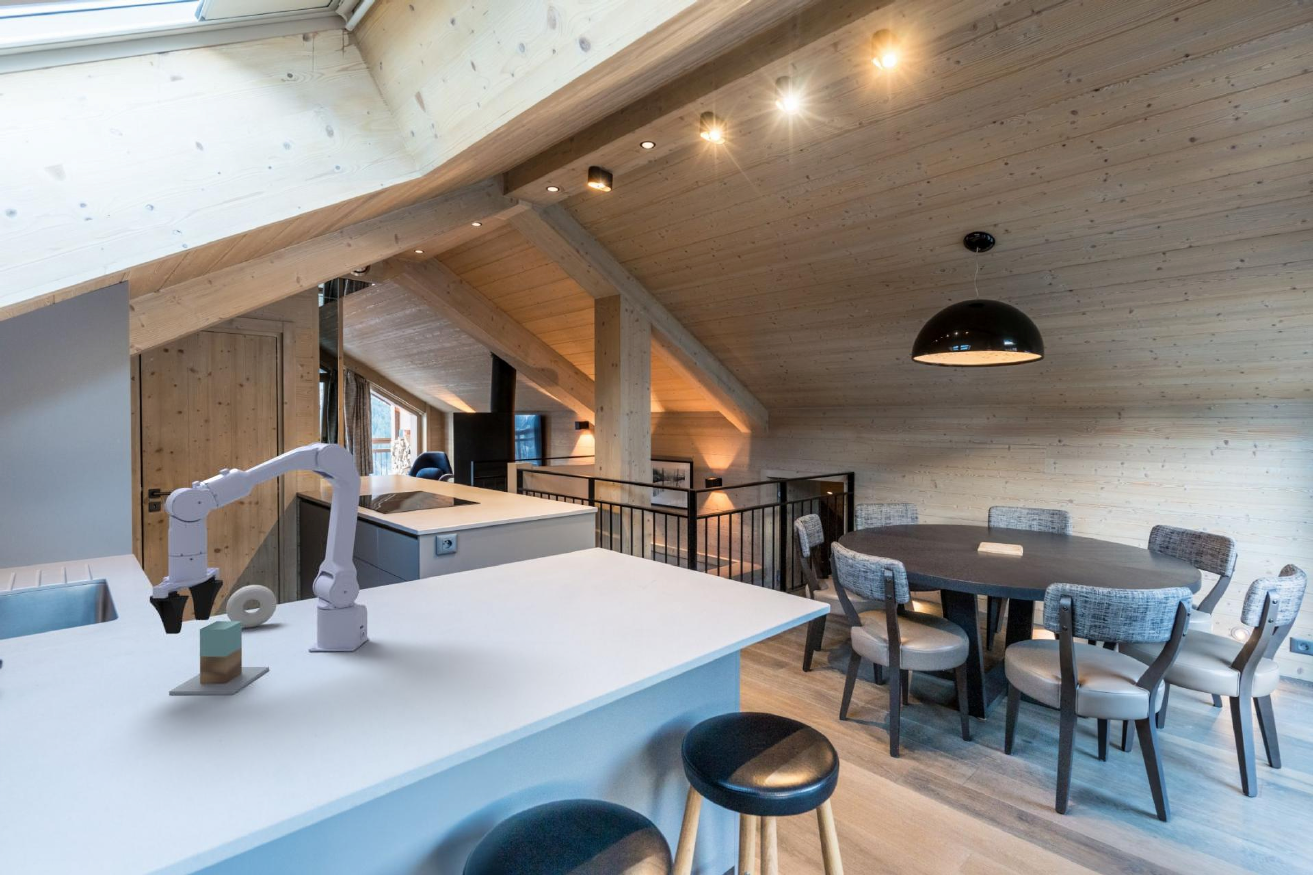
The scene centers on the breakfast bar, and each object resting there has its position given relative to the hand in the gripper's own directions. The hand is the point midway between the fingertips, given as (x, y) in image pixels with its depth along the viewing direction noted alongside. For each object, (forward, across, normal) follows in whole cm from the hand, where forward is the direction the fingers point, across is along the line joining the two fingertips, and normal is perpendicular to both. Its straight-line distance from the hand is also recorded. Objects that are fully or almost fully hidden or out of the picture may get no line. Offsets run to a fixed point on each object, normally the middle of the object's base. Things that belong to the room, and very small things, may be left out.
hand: (188, 626), depth 115 cm
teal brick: (+5, 0, +6) cm, 8 cm away
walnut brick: (+10, 0, +6) cm, 11 cm away
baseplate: (+10, 0, +6) cm, 12 cm away
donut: (+11, -31, -7) cm, 34 cm away
